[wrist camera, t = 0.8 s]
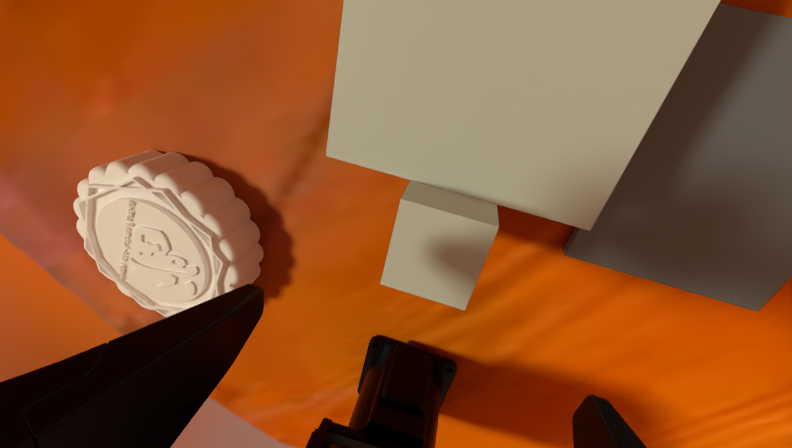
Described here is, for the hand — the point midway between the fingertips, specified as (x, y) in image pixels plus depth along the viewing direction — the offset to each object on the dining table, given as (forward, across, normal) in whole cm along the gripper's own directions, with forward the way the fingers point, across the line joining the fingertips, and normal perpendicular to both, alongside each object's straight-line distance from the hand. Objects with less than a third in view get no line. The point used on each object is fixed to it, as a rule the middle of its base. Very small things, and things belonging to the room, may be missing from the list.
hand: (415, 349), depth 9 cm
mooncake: (+12, +17, +8) cm, 23 cm away
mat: (+12, -12, -5) cm, 17 cm away
